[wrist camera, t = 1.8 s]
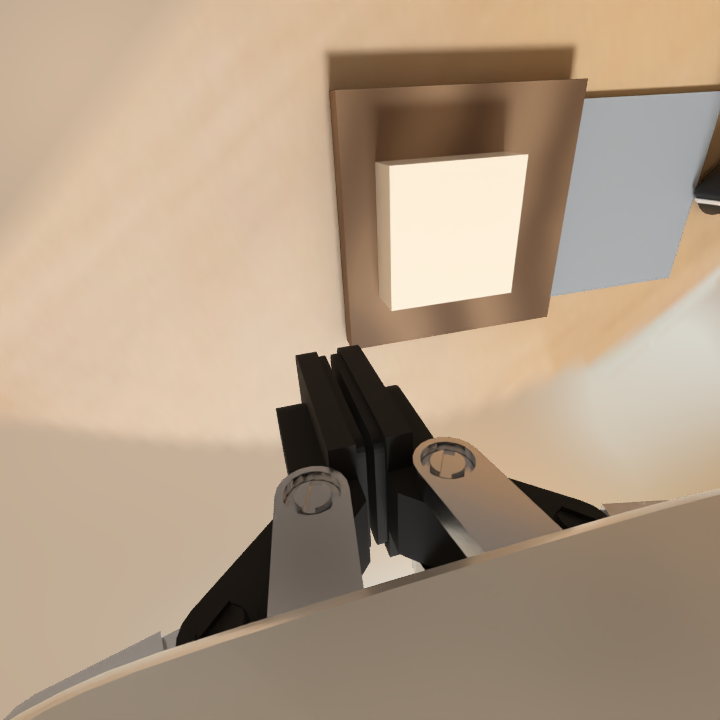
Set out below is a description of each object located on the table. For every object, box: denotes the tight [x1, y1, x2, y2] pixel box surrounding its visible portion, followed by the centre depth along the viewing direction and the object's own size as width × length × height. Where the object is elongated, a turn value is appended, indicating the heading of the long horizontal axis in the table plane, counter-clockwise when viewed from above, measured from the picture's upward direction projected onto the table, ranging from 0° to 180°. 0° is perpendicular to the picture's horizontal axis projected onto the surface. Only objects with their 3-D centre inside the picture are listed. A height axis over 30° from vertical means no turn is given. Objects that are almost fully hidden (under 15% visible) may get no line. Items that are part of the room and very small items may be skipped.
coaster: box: [375, 152, 528, 311], centre depth 26 cm, size 8×8×2 cm
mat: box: [550, 91, 720, 297], centre depth 31 cm, size 12×13×1 cm
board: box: [329, 79, 588, 348], centre depth 28 cm, size 15×15×2 cm
